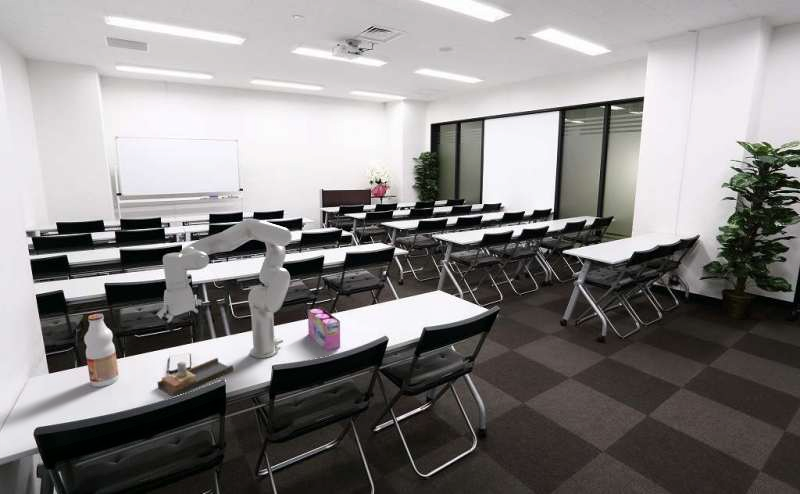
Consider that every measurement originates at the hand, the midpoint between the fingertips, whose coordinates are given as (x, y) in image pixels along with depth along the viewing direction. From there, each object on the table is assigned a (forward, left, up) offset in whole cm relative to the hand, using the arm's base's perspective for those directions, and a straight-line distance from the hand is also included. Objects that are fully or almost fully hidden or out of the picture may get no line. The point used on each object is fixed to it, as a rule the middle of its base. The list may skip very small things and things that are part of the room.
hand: (183, 326), depth 164 cm
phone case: (-5, -16, -24) cm, 30 cm away
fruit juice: (+20, -26, -24) cm, 40 cm away
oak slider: (+3, +2, -22) cm, 23 cm away
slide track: (-3, +2, -24) cm, 24 cm away
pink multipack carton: (-60, +17, -24) cm, 66 cm away
